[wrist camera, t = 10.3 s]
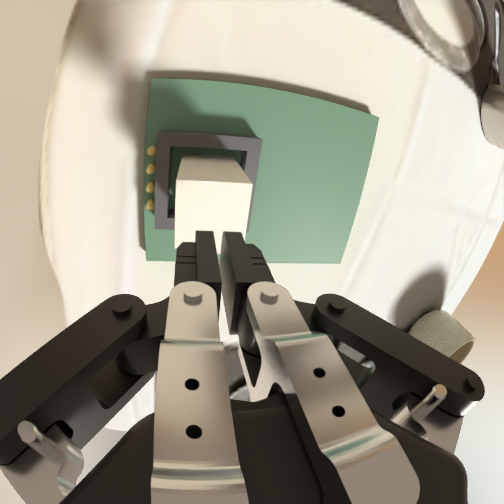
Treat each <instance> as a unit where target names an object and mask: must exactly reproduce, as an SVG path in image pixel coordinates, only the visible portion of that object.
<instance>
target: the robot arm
mask: <svg viewBox="0 0 504 504" xmlns="http://www.w3.org/2000/svg"><path fill="white" fill-rule="evenodd" d="M481 121H482V127H483V132H484V134H485V137H486V139H487V141H488V142H489V143H491V144H493V145H495V146H498V147H499V148H502V149H504V86H501V85H497V84H492V83H488V89H487V90H486V92H485V93H484V96H483V99H482V105H481ZM221 289H222V295H223V300H224V306H225V312H226V317H227V322H228V328H229V333H230V335H234V334H238V336H239V345H238V354H239V357H240V361H241V365H242V368H243V372H244V375H245V379H246V382H247V386H248V389H249V393H250V402H248V401H240V400H233V399H230V396H229V388H228V380H227V371H226V363H225V354H224V346H223V342H220V336H219V325H218V321H219V310H220V299H221ZM342 342H343V343H345V344H347V345H348V346H350V347H352V348H353V349H355V350H356V351H358V352H360V353H361V354H363V355H365V356H366V357H368V358H370V359H371V360H372V361H373V362H374V364H375V366H374V367H372V368H367V367H364V366H363V365H361V364H359V363H358V362H356V361H354V360H353V359H351V358H350V357H348V356H346V355H345V354H343V353H341V352H340V351H338V349H339V347H340V345H341V344H342ZM157 370H158V371H157ZM155 371H157V384H156V398H155V412H154V413H152V414H150V415H148V416H146V417H145V418H143V419H141V420H140V421H139V422H137V423H136V424H135V425H134V426H133V427H132V428H131V429H130V430H129V431H128V432H127V433H126V434H125V435H124V436H123V437H122V438H121V440H120V441H119V442H118V443H117V444H116V445H115V446H114V447H113V448H112V449H111V450H110V451H109V452H108V453H107V454H106V456H105V457H104V458H103V459H102V460H101V461H100V462H99V463H98V464H97V465H96V466H95V467H94V468H93V469H92V470H91V471H90V472H89V473H88V475H86V477H85V478H84V479H83V480H82V481H81V482H80V483H79V484H78V485H77V486H76V481H77V478H78V476H79V475H80V474H81V472H82V470H83V466H84V459H83V455H82V452H81V449H82V448H83V447H84V446H85V445H86V444H87V443H88V442H89V441H90V440H91V439H92V438H93V437H94V436H95V435H96V434H97V433H98V432H99V431H100V430H101V429H102V428H103V427H104V426H105V425H106V424H107V423H108V422H109V421H110V420H111V419H112V418H113V417H114V416H115V415H116V414H117V413H118V412H119V411H120V410H121V409H122V408H123V407H124V406H125V405H126V404H127V403H128V402H129V401H130V400H131V399H132V398H133V397H134V395H135V394H136V393H137V392H138V391H139V390H140V389H141V388H142V387H143V386H144V385H145V384H146V383H147V382H148V381H149V380H150V379H151V378H152V377H153V376H154V374H155ZM484 392H485V390H484V385H483V382H482V380H481V378H480V377H479V376H478V375H477V374H476V373H475V372H473V371H472V370H470V369H468V368H467V367H465V366H463V365H461V364H460V363H458V362H456V361H455V360H453V359H451V358H449V357H448V356H446V355H444V354H442V353H441V352H439V351H437V350H435V349H434V348H432V347H430V346H428V345H427V344H425V343H423V342H422V341H420V340H418V339H416V338H415V337H413V336H411V335H409V334H408V333H406V332H404V331H402V330H401V329H399V328H397V327H395V326H394V325H392V324H390V323H388V322H387V321H385V320H383V319H381V318H380V317H378V316H376V315H374V314H372V313H371V312H369V311H367V310H365V309H364V308H362V307H360V306H358V305H357V304H355V303H353V302H351V301H350V300H348V299H346V298H344V297H342V296H339V295H336V294H323V295H321V296H319V297H318V298H317V300H316V303H315V304H310V303H304V302H299V301H295V300H293V298H292V297H291V295H290V293H289V292H288V290H287V289H285V288H284V287H283V286H281V285H279V284H276V283H275V281H274V279H273V276H272V274H271V272H270V269H269V267H268V265H267V263H266V260H265V259H264V256H263V254H262V251H261V250H260V249H259V248H258V247H257V246H255V245H254V244H246V243H245V241H244V238H243V235H242V233H241V232H231V231H223V234H222V243H221V253H220V264H219V262H218V256H217V250H216V244H215V238H214V232H213V231H201V230H196V232H195V242H182V243H181V244H180V245H179V246H178V247H177V251H176V264H175V278H174V288H173V289H172V290H171V292H170V296H169V297H167V298H166V299H164V300H163V301H160V302H157V303H153V304H149V305H145V304H144V302H143V301H142V300H141V299H140V298H139V297H137V296H134V295H130V294H119V295H115V296H112V297H110V298H108V299H107V300H105V301H104V302H102V303H101V304H99V305H98V306H97V307H95V308H94V309H92V310H91V311H90V312H88V313H87V314H85V315H84V316H83V317H81V318H80V319H78V320H77V321H76V322H74V323H73V324H72V325H70V326H69V327H67V328H66V329H65V330H63V331H62V332H61V333H59V334H58V335H57V336H55V337H54V338H53V339H51V340H50V341H49V342H47V343H46V344H45V345H43V346H42V347H41V348H40V349H38V350H37V351H36V352H34V353H33V354H32V355H30V356H29V357H28V358H27V359H25V360H24V361H23V362H21V363H20V364H19V365H18V366H16V367H15V368H14V369H13V370H11V371H10V372H9V373H8V374H7V375H5V376H4V377H3V378H2V379H1V380H0V468H1V470H2V472H3V473H4V475H5V476H6V478H7V479H8V480H9V482H10V483H11V485H12V486H13V487H14V489H15V490H16V491H17V493H18V494H19V495H20V496H21V498H22V499H23V500H24V501H25V503H26V504H468V501H467V474H466V471H465V468H464V466H463V464H462V463H461V461H460V460H459V459H458V458H457V457H456V456H455V455H454V451H455V448H456V444H457V441H458V437H459V433H460V429H461V425H462V420H463V417H464V415H465V414H466V413H467V412H468V411H470V410H471V409H472V408H473V407H474V406H475V405H476V404H477V403H478V402H479V401H480V400H481V399H482V398H483V396H484Z"/></svg>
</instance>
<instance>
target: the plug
mask: <svg viewBox="0 0 504 504" xmlns="http://www.w3.org/2000/svg"><path fill="white" fill-rule="evenodd" d="M252 186H253V184H252V182H251V181H250V179H249V178H248V177H247V175H246V174H245V172H244V171H243V170H242V168H241V167H240V165H239V164H238V163H237V161H236V160H235V159H234V157H231V156H218V155H200V154H183V156H182V159H181V163H180V167H179V171H178V175H177V179H176V198H175V248H177V247H178V246H179V245H180V244H181V243H182V242H195V232H196V230H201V231H213V232H214V238H215V244H216V250H217V254H220V253H221V243H222V234H223V231H231V232H241V233H242V235H243V238H244V241H245V235H246V228H247V221H248V214H249V207H250V200H251V193H252Z"/></svg>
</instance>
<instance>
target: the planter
mask: <svg viewBox="0 0 504 504" xmlns="http://www.w3.org/2000/svg"><path fill="white" fill-rule="evenodd" d="M408 334H409V335H411V336H413V337H415V338H416V339H418V340H420V341H422V342H423V343H425V344H427V345H428V346H430V347H432V348H434V349H435V350H437V351H439V352H441V353H442V354H444V355H446V356H448V357H449V358H451V359H453V360H455V361H456V362H458V363H460V364H461V363H462V362H463V361H464V360H465V359H466V357H467V356H468V355H469V353H470V352H471V350H472V349H473V347H474V345H475V339H474V338H473V336H472V335H471V334H470V333H469V332H468V331H467V330H466V329H465V328H464V327H463V326H462V325H461V324H460V323H459V322H458V321H457V320H456V319H455V318H453V316H451V315H450V314H449V313H447V312H446V311H443V310H435V311H431V312H428V313H426V314H425V315H423V316H422V317H420V318H419V319H418V320H417V321H416V322H415V323H414V324H413V326H412V327H411V328H410V330H409V332H408Z"/></svg>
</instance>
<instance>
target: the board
mask: <svg viewBox="0 0 504 504" xmlns="http://www.w3.org/2000/svg"><path fill="white" fill-rule="evenodd" d="M378 120H379V117H377V116H374V115H371V114H368V113H365V112H362V111H359V110H356V109H353V108H350V107H346V106H343V105H340V104H336V103H333V102H329V101H326V100H322V99H318V98H314V97H310V96H306V95H301V94H297V93H292V92H287V91H282V90H277V89H272V88H266V87H260V86H253V85H246V84H238V83H230V82H220V81H209V80H193V79H151V84H150V92H149V101H148V112H147V123H146V138H145V159H144V226H145V248H146V261H176V251H177V248H175V198H176V179H177V175H178V171H179V167H180V163H181V159H182V156H183V154H200V155H218V156H231V157H234V159H235V160H236V161H237V163H238V164H239V165H240V167H241V168H242V170H243V171H244V172H245V174H246V175H247V177H248V178H249V179H250V181H251V182H252V184H253V186H252V193H251V200H250V207H249V214H248V221H247V228H246V235H245V243H246V244H254V245H255V246H257V247H258V248H259V249H260V250H261V251H262V254H263V256H264V259H265V260H266V263H328V264H340V263H341V260H342V257H343V254H344V251H345V247H346V244H347V241H348V238H349V235H350V232H351V228H352V225H353V222H354V218H355V215H356V212H357V208H358V205H359V201H360V197H361V194H362V190H363V186H364V182H365V178H366V174H367V170H368V166H369V162H370V158H371V154H372V149H373V145H374V140H375V135H376V131H377V126H378ZM217 256H218V262H220V254H217Z"/></svg>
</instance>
